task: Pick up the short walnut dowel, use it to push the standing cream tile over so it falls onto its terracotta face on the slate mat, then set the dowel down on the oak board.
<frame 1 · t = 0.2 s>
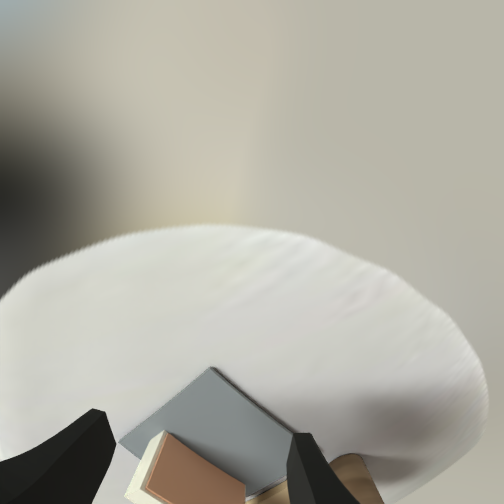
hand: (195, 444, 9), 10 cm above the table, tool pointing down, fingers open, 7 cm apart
tile: (199, 465, 20), resting on mat
mat: (215, 452, 20), on the table
dowel: (344, 467, 20), on the table
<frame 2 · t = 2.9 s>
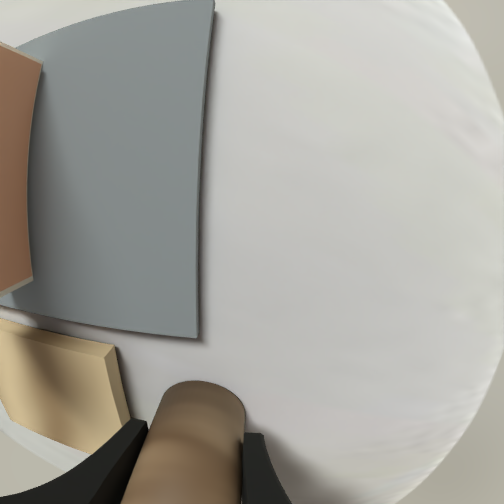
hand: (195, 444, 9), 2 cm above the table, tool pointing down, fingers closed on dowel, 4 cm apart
tile: (12, 169, 9), resting on mat
mat: (51, 165, 9), on the table
board: (52, 387, 11), on the table
dowel: (202, 412, 11), on the table, touching gripper
when the fingers open (7 cm above the table, at t = 7.2 s): dowel stays where it is, resting on tile.
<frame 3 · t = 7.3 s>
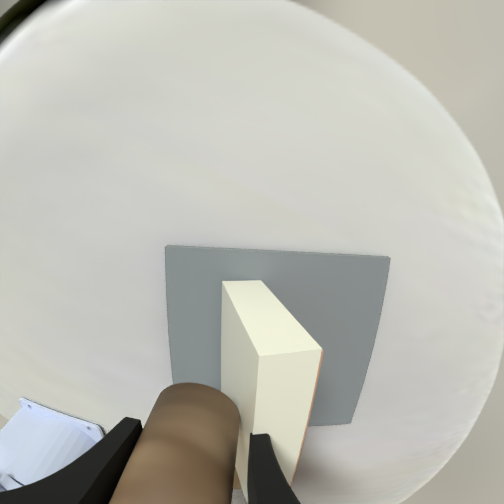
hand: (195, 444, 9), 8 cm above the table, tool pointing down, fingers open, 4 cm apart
tile: (238, 356, 16), point 1 cm above the table, tilted 14°, touching dowel, gripper, mat
mat: (273, 352, 17), on the table
dowel: (197, 414, 11), point 6 cm above the table, touching gripper, tile
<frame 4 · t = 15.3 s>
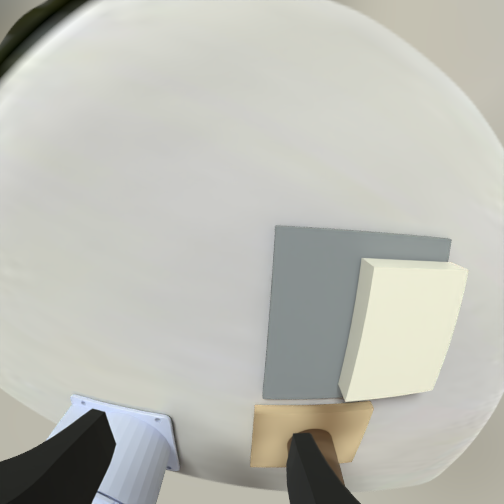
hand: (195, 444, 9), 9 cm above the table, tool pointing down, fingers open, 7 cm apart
tile: (355, 334, 17), point 2 cm above the table, tilted 90°, touching mat
mat: (359, 323, 18), on the table
board: (307, 434, 20), on the table
dowel: (309, 443, 19), point 1 cm above the table, touching board
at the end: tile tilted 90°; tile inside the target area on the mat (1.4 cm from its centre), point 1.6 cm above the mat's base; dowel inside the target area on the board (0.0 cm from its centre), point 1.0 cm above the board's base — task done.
